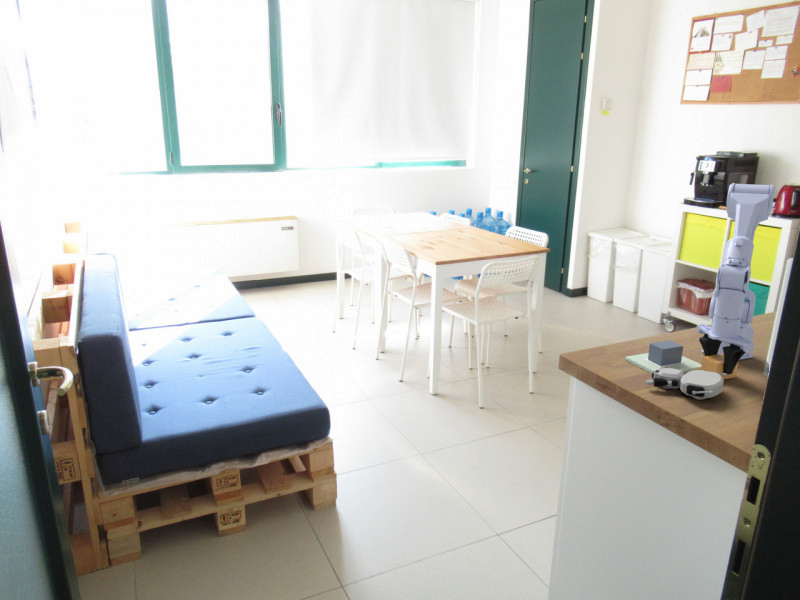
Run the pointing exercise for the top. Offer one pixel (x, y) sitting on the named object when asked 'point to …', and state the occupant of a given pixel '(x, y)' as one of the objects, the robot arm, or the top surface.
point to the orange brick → (716, 365)
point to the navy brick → (665, 353)
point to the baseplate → (649, 366)
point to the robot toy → (689, 382)
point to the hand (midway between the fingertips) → (718, 369)
